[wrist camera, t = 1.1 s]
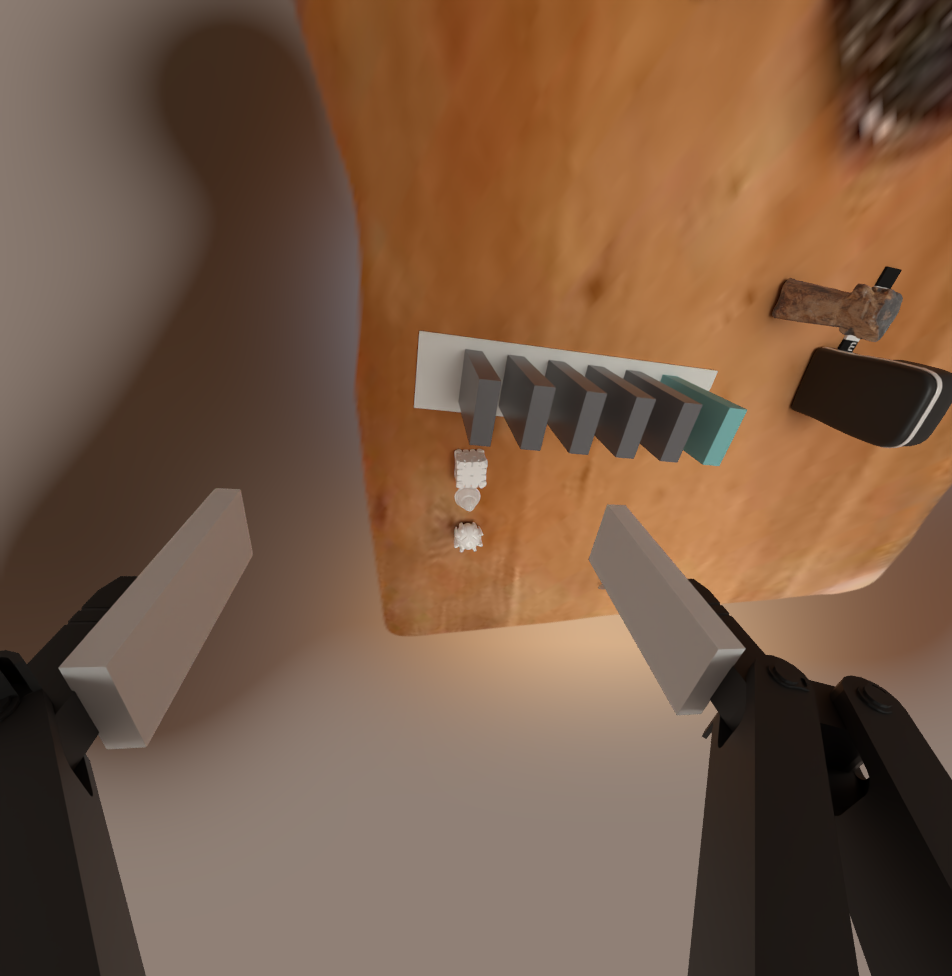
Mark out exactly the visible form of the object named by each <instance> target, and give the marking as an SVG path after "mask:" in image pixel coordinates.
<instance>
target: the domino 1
mask: <svg viewBox="0 0 952 976" xmlns="http://www.w3.org/2000/svg"><path fill="white" fill-rule="evenodd" d="M501 383H502V381H501V379H500V378H499V376H498V375H497V373H496V372H495V370H494V368H493V367H492V365H491V364H490V362H489V361H488V359H487V358H486V356H485V354H484V353H483V351H477V350H469V349H465V354H464V362H463V370H462V378H461V385H460V393H459V401H458V403H459V406H460V410H461V414H462V418H463V422H464V426H465V429H466V433H467V437H468V441H469V445H478V446H490V445H491V439H492V434H493V428H494V423H495V417H496V411H497V406H498V400H499V395H500V389H501Z"/></svg>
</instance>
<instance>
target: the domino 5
mask: <svg viewBox="0 0 952 976" xmlns="http://www.w3.org/2000/svg"><path fill="white" fill-rule="evenodd" d="M623 379H624V380H626V381H627V382H629V383H631V384H632V385H634V386H636V387H637V388H639V389H640V390H642V391H644V392H645V393H647V394H648V395H650V396H652V397H653V398H655V399H656V401H655V404H654V407H653V409H652V412H651V415H650V417H649V420H648V422H647V425H646V428H645V430H644V433H643V436H642V438H641V441H640V444H641V445H642V446H643V447H645V448H646V449H647V450H648V451H649V452H650V453H651V454H653V455H654V456H655V457H656V458H657V459H658V460H660V461H666V462H678V460H679V458H680V455H681V453H682V451H683V449H684V446H685V444H686V442H687V440H688V437H689V435H690V433H691V431H692V428H693V426H694V424H695V422H696V419H697V417H698V415H699V412H700V410H701V408H702V406H703V405H702V404H701V403H699V402H697V401H695V400H693V399H691V398H689V397H688V396H686V395H684V394H682V393H680V392H678V391H676V390H674V389H673V388H671V387H669V386H667V385H665V384H663V383H661V382H660V381H658V380H656V379H654V378H652V377H650V376H648V375H646V374H645V373H643V372H640V371H633V370H626V372H625V375H624V378H623Z"/></svg>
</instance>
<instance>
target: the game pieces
mask: <svg viewBox="0 0 952 976" xmlns="http://www.w3.org/2000/svg"><path fill="white" fill-rule="evenodd" d="M454 455H455V470H454V477H455V479H456V487H457V488H460V489H459V490H458V491H457V492H456V494H455V501H456V503H457V504H458V505H459V506H460V507H462V508H464V509H465V510H467V511H472V510H473V509H474V508H475V506H476V505H477V504H478V502H479V500H480V492H479V491H478V489H476V488H477V486H479V487H480V488H483V487H485V486H486V484H487V483H486V470H487V469H486V468H487V466H488V465H487V459H486V457H485V454H484V450H482V449H477V450H476V451H475V449H470V452H469V450H463V452H462V450H461V449H457V450H455V452H454ZM471 485H472V486H471ZM478 527H479V526H478ZM481 536H483V533H482V530H481V528H480V527H479V529H478V528H477V525H476V523H475V522H472V524H470V523H465V524H463V523H462V522H461V523H460V524H459V528H458V529H457V527H455V529H454V537H455V538H454V547H455V548H457V547H459V548H460V552H463V551H464V549H467V550H470V549H472V548H473V550H474V552H475V551H477V549H476V546H477V545H478V546H480V547H482V546H483V544H482V540H481Z"/></svg>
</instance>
